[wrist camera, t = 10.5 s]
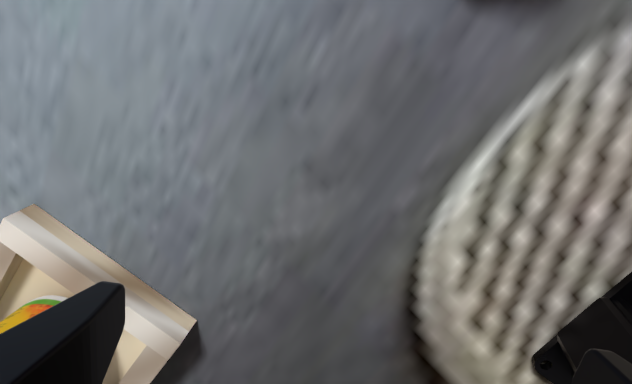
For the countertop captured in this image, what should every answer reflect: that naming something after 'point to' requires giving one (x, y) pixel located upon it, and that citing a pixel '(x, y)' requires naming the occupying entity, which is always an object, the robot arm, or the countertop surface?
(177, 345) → the recess plate
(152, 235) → the countertop surface
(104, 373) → the robot arm
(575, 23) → the countertop surface
